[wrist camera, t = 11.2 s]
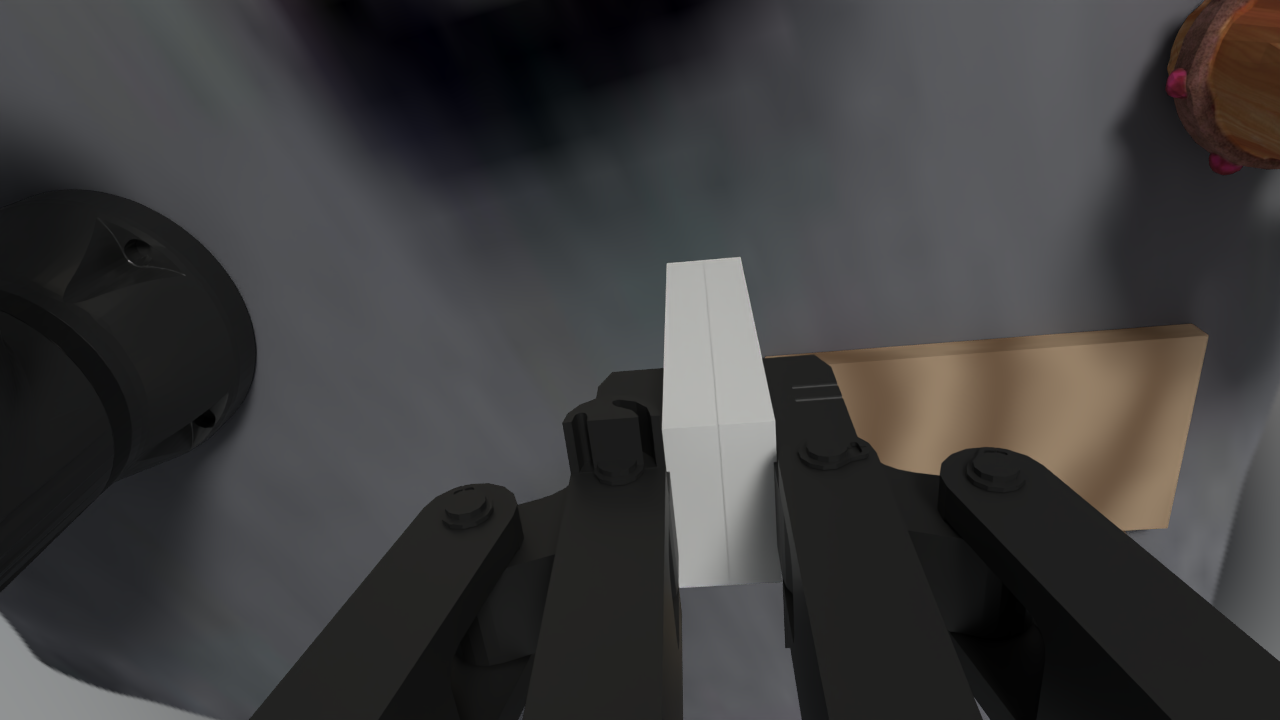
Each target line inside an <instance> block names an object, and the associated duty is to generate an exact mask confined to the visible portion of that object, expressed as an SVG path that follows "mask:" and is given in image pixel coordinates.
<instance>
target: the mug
mask: <svg viewBox="0 0 1280 720" xmlns="http://www.w3.org/2000/svg"><path fill="white" fill-rule="evenodd" d="M1167 70H1168V74H1169V76H1168V78H1167V82H1166V88H1165V90H1166V92H1167V94H1168V95H1169V96H1171V97H1173V98H1174V102H1175V106H1176V110H1177V114H1178V116H1179V118H1180V120H1181V122H1182V124H1183V126H1184V128H1185V129H1186V131H1187V132H1188V133H1189V134H1190V136H1191V137H1192V138H1193V139H1194V141H1195V142H1196V143H1197V144H1198V145H1200V146H1201V147H1202V148H1204V149H1205V150H1206V151H1208V152H1209V153H1210V156H1209V165H1210V167H1211V169H1212V171H1214V172H1216V173H1218V174H1221V175H1229V174H1233V173H1235V172H1237V171H1240V170H1241V168H1242V167H1243V166H1247V167H1254V168H1261V169H1280V0H1205V1H1204V2H1203V3H1202V4H1201V5H1200V6H1199V7H1198V8H1197V9H1196V10H1194V11H1193V12H1192V13H1191V14H1190V15H1189V16H1188V17H1187V19H1186V20H1185V22H1184V23H1183V25H1182V26H1181V28H1180V30H1179V32H1178V34H1177V36H1176V38H1175V41H1174V44H1173V46H1172V49H1171V55H1170V61H1169V63H1168V66H1167Z"/></svg>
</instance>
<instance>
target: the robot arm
mask: <svg viewBox="0 0 1280 720" xmlns="http://www.w3.org/2000/svg"><path fill="white" fill-rule="evenodd" d="M255 354H256V352H255V340H254V333H253V328H252V324H251V321H250V317H249V314H248V312H247V309H246V306H245V304H244V302H243V300H242V298H241V295H240V294H239V292H238V290H237V288H236V286H235V285H234V283H233V281H232V280H231V278H230V277H229V275H228V274H227V273H226V271H225V270H224V268H223V267H222V266H221V265H220V263H219V262H218V261H217V260H216V259H215V257H214V256H213V255H212V254H211V253H210V252H209V251H208V250H207V249H206V248H205V247H204V246H203V245H202V244H201V243H200V242H199V241H198V240H196V239H195V238H194V237H193V236H192V235H191V234H189V233H188V232H187V231H185V230H184V229H183V228H182V227H180V226H179V225H177V224H176V223H174V222H173V221H171V220H170V219H168V218H166V217H165V216H163V215H161V214H160V213H158V212H156V211H154V210H152V209H150V208H148V207H146V206H144V205H141V204H139V203H137V202H134V201H131V200H129V199H126V198H122V197H119V196H116V195H112V194H107V193H103V192H97V191H89V190H58V191H51V192H46V193H42V194H38V195H35V196H32V197H29V198H27V199H24V200H21V201H19V202H16V203H13V204H11V205H8V206H5V207H3V208H1V209H0V592H1V591H2V590H3V589H4V588H5V587H6V586H7V585H8V584H9V583H10V582H11V581H12V580H13V579H14V578H16V577H17V576H18V575H19V574H20V573H21V572H22V571H23V570H24V569H25V568H26V567H27V566H28V565H29V564H30V563H31V562H32V561H33V560H34V559H35V558H36V557H37V556H38V555H39V554H40V553H41V552H42V551H43V550H44V549H45V548H46V547H47V546H48V545H49V544H50V543H51V542H52V541H53V540H54V539H55V538H56V537H57V536H58V535H59V534H60V533H61V532H62V531H64V530H65V529H66V528H67V527H68V526H69V525H70V524H71V523H72V522H73V521H74V520H75V519H76V518H77V517H78V516H79V515H80V514H81V513H82V512H83V511H84V510H85V509H86V508H87V507H88V506H89V505H90V504H91V503H92V502H93V501H94V500H95V499H96V498H97V497H98V496H99V495H100V494H101V493H102V492H103V491H105V490H106V489H107V488H108V487H109V486H110V485H111V484H112V483H113V482H115V481H118V480H120V479H123V478H125V477H128V476H130V475H133V474H135V473H138V472H140V471H143V470H145V469H148V468H150V467H153V466H155V465H158V464H160V463H163V462H165V461H168V460H170V459H172V458H175V457H177V456H180V455H182V454H184V453H187V452H189V451H190V450H192V449H194V448H195V447H197V446H199V445H200V444H202V443H203V442H205V441H206V440H207V439H208V438H210V437H211V436H212V435H213V434H214V433H215V432H216V431H217V430H218V429H219V428H220V427H221V426H222V425H223V424H224V423H225V422H226V421H227V420H228V419H229V418H230V417H231V416H232V415H233V414H234V412H235V411H236V410H237V409H238V408H239V406H240V405H241V403H242V402H243V400H244V398H245V396H246V395H247V392H248V390H249V388H250V385H251V382H252V379H253V374H254V368H255ZM562 424H563V430H564V435H565V441H566V447H567V453H568V459H569V465H570V471H571V477H570V482H569V486H567V487H566V488H564V489H563V490H561V491H559V492H557V493H555V494H553V495H550V496H547V497H544V498H541V499H538V500H534V501H531V502H527V503H523V504H520V505H517V502H516V499H515V496H514V494H513V493H512V492H510V491H509V490H508V489H506V488H505V487H503V486H498V485H494V484H490V483H486V484H470V485H464V486H460V487H457V488H454V489H452V490H450V491H448V492H446V493H444V494H442V495H440V496H438V497H436V498H435V499H434V500H432V501H431V502H430V503H429V504H428V505H427V506H425V507H424V508H423V510H422V511H421V512H420V513H419V514H418V516H417V517H416V518H415V519H414V520H413V522H412V523H411V524H410V525H409V526H408V528H407V529H406V530H405V531H404V533H403V534H402V535H401V536H400V537H399V539H398V540H397V541H396V542H395V543H394V545H393V546H392V547H391V548H390V550H389V551H388V552H387V553H386V554H385V556H384V557H383V558H382V559H381V560H380V562H379V563H378V564H377V565H376V566H375V568H374V569H373V570H372V571H371V573H370V574H369V575H368V576H367V577H366V579H365V580H364V581H363V582H362V583H361V585H360V586H359V587H358V588H357V590H356V591H355V592H354V593H353V594H352V596H351V597H350V598H349V599H348V600H347V602H346V603H345V604H344V605H343V606H342V608H341V609H340V610H339V611H338V613H337V614H336V615H335V616H334V617H333V619H332V620H331V621H330V622H329V623H328V625H327V626H326V627H325V628H324V629H323V631H322V632H321V633H320V634H319V636H318V637H317V638H316V639H315V640H314V642H313V643H312V644H311V645H310V646H309V648H308V649H307V650H306V651H305V653H304V654H303V655H302V656H301V657H300V659H299V660H298V661H297V662H296V663H295V665H294V666H293V667H292V668H291V669H290V671H289V672H288V673H287V674H286V676H285V677H284V678H283V679H282V680H281V682H280V683H279V684H278V685H277V686H276V688H275V689H274V690H273V691H272V692H271V694H270V695H269V696H268V697H267V699H266V700H265V701H264V702H263V703H262V705H261V706H260V707H259V708H258V709H257V711H256V712H255V713H254V714H253V716H252V717H251V718H250V719H249V720H518V719H519V716H520V714H521V712H522V710H523V708H524V706H525V710H524V715H523V720H683V676H682V611H681V602H680V593H679V588H686V587H704V586H722V585H740V584H758V583H777V582H782V578H781V571H782V577H783V600H784V626H785V648H790V649H791V655H792V661H793V668H794V674H795V680H796V686H797V692H798V699H799V705H800V711H801V717H802V720H983V719H982V716H981V714H980V711H979V709H978V706H977V704H976V701H975V699H976V700H977V702H978V703H979V704H980V706H981V707H982V709H983V710H984V711H985V713H986V714H987V716H988V717H989V718H990V720H1280V661H1278V660H1277V659H1276V658H1275V657H1274V656H1272V655H1271V654H1270V653H1269V652H1268V651H1266V650H1265V649H1264V648H1263V647H1262V646H1260V645H1259V644H1258V643H1257V642H1255V641H1254V640H1253V639H1252V638H1250V636H1248V635H1247V634H1246V633H1245V632H1243V631H1242V630H1241V629H1240V628H1238V627H1237V626H1236V625H1235V624H1234V623H1233V622H1231V621H1230V620H1229V619H1228V618H1227V617H1225V616H1224V615H1223V614H1222V613H1221V612H1219V611H1218V610H1217V609H1216V608H1215V607H1213V606H1212V605H1211V604H1210V603H1209V602H1207V601H1206V600H1205V599H1204V598H1203V597H1201V596H1200V595H1199V594H1198V593H1197V592H1195V591H1194V590H1193V589H1192V588H1191V587H1189V586H1188V585H1187V584H1186V583H1185V582H1183V581H1182V580H1181V579H1180V578H1178V577H1177V576H1176V575H1175V574H1174V573H1172V572H1171V571H1170V570H1169V569H1168V568H1166V567H1165V566H1164V565H1163V564H1162V563H1160V562H1159V561H1158V560H1157V559H1156V558H1154V557H1153V556H1152V555H1151V554H1150V553H1148V552H1147V551H1146V550H1145V549H1144V548H1142V547H1141V546H1140V545H1139V544H1138V543H1136V542H1135V541H1134V540H1133V539H1132V538H1130V537H1129V536H1128V535H1127V534H1126V533H1124V532H1123V531H1122V530H1121V529H1119V528H1118V527H1117V526H1116V525H1115V524H1113V523H1112V522H1111V521H1110V520H1109V519H1107V518H1106V517H1105V516H1104V515H1103V514H1101V513H1100V512H1099V511H1098V510H1097V509H1095V508H1094V507H1093V506H1092V505H1091V504H1089V503H1088V502H1087V501H1086V500H1085V499H1083V498H1082V497H1081V496H1080V495H1079V494H1077V493H1076V492H1075V491H1074V490H1073V489H1071V488H1070V487H1069V486H1068V485H1067V484H1065V483H1064V482H1063V481H1062V480H1061V479H1059V478H1058V477H1057V476H1056V475H1054V474H1053V473H1052V472H1051V471H1050V470H1048V469H1047V468H1046V467H1045V466H1044V465H1042V464H1041V463H1039V462H1037V461H1036V460H1034V459H1032V458H1031V457H1029V456H1027V455H1024V454H1021V453H1018V452H1014V451H1011V450H1008V449H1003V448H994V447H980V448H968V449H964V450H961V451H959V452H956V453H953V454H951V455H950V456H948V457H947V458H946V459H945V460H944V461H943V462H942V463H941V469H940V475H932V474H924V473H916V472H910V471H905V470H900V469H896V468H893V467H890V466H887V465H885V464H883V463H881V462H880V460H879V457H878V455H877V452H876V451H875V450H874V449H873V447H872V446H871V445H870V444H869V443H868V442H866V441H865V440H863V439H861V438H859V437H858V436H857V434H856V431H855V428H854V426H853V423H852V420H851V418H850V415H849V412H848V410H847V407H846V404H845V402H844V399H843V398H842V394H841V391H840V389H839V386H838V385H837V381H836V378H835V375H834V373H833V370H832V367H831V366H829V365H828V364H827V363H825V362H824V361H822V360H821V359H820V358H818V357H817V356H816V355H814V354H813V355H800V356H787V357H774V358H762V356H761V352H760V347H759V342H758V338H757V333H756V328H755V323H754V319H753V314H752V309H751V305H750V300H749V295H748V291H747V286H746V281H745V276H744V272H743V267H742V262H741V258H740V257H734V258H723V259H712V260H700V261H689V262H677V263H667V277H666V310H665V343H664V368H660V369H647V370H634V371H621V372H612V373H611V374H610V375H609V376H608V377H607V378H606V379H605V380H604V381H603V383H602V384H601V385H600V386H599V387H598V392H597V397H596V399H594V400H591V401H589V402H586V403H583V404H581V405H579V406H578V407H576V408H575V409H573V410H572V411H571V412H569V413H568V414H567V416H566V418H565V419H564V421H563V423H562ZM974 697H975V699H974ZM525 704H526V705H525Z"/></svg>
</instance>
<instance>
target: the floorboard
mask: <svg viewBox="0 0 1280 720" xmlns="http://www.w3.org/2000/svg"><path fill="white" fill-rule="evenodd" d="M1208 337H1209V335H1207V334H1206V333H1205V332H1203V331H1202V330H1200V329H1199V328H1198V327H1196V326H1195V325H1193V324H1179V325H1166V326H1153V327H1140V328H1128V329H1115V330H1102V331H1089V332H1076V333H1063V334H1050V335H1037V336H1024V337H1012V338H999V339H986V340H973V341H960V342H947V343H934V344H921V345H908V346H896V347H883V348H870V349H857V350H844V351H831V352H818V353H805V354H793V355H780V356H767V357H765V358H774V357H787V356H800V355H813V354H814V355H816V356H817V357H818V358H820V359H821V360H822V361H824V362H825V363H827V364H828V365H829V366H831V367H832V370H833V373H834V375H835V378H836V381H837V385H838V386H839V389H840V391H841V394H842V398H843V399H844V402H845V404H846V407H847V410H848V412H849V415H850V418H851V420H852V423H853V426H854V428H855V431H856V434H857V436H858V437H859V438H861V439H863V440H865V441H866V442H868V443H869V444H870V445H871V446H872V447H873V449H874V450H875V451H876V452H877V455H878V457H879V460H880V462H881V463H883V464H885V465H887V466H890V467H893V468H896V469H900V470H905V471H910V472H916V473H924V474H932V475H940V469H941V463H942V462H943V461H944V460H945V459H946V458H947V457H948V456H950V455H951V454H953V453H956V452H959V451H961V450H964V449H968V448H980V447H994V448H1003V449H1008V450H1011V451H1014V452H1018V453H1021V454H1024V455H1027V456H1029V457H1031V458H1032V459H1034V460H1036V461H1037V462H1039V463H1041V464H1042V465H1044V466H1045V467H1046V468H1047V469H1048V470H1050V471H1051V472H1052V473H1053V474H1054V475H1056V476H1057V477H1058V478H1059V479H1061V480H1062V481H1063V482H1064V483H1065V484H1067V485H1068V486H1069V487H1070V488H1071V489H1073V490H1074V491H1075V492H1076V493H1077V494H1079V495H1080V496H1081V497H1082V498H1083V499H1085V500H1086V501H1087V502H1088V503H1089V504H1091V505H1092V506H1093V507H1094V508H1095V509H1097V510H1098V511H1099V512H1100V513H1101V514H1103V515H1104V516H1105V517H1106V518H1107V519H1109V520H1110V521H1111V522H1112V523H1113V524H1115V525H1116V526H1117V527H1118V528H1119V529H1121V530H1122V531H1126V530H1143V529H1160V528H1168V523H1169V518H1170V514H1171V509H1172V504H1173V500H1174V495H1175V491H1176V486H1177V481H1178V477H1179V472H1180V467H1181V463H1182V458H1183V453H1184V449H1185V444H1186V439H1187V435H1188V430H1189V425H1190V421H1191V416H1192V411H1193V407H1194V402H1195V397H1196V393H1197V388H1198V383H1199V379H1200V374H1201V369H1202V365H1203V360H1204V355H1205V351H1206V346H1207V342H1208Z"/></svg>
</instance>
